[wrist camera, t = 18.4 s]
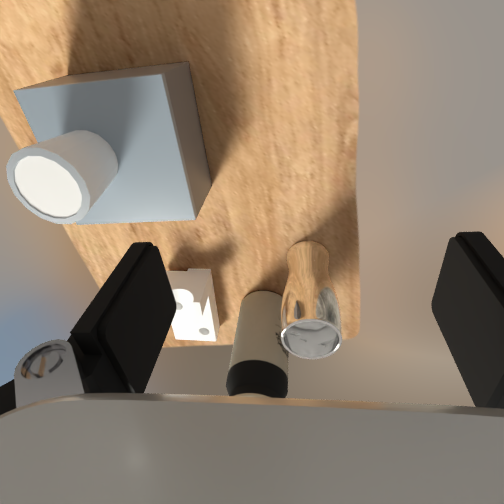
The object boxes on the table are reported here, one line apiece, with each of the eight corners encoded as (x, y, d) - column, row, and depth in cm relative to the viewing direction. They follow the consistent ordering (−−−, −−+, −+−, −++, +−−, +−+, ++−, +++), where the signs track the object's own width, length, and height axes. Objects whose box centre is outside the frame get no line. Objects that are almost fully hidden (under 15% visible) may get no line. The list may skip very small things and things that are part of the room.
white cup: (96, 202, 36) (58, 237, 30) (41, 149, 33) (-11, 177, 27) (138, 168, 33) (106, 200, 27) (83, 107, 30) (34, 129, 24)
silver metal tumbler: (326, 279, 50) (335, 364, 38) (280, 273, 50) (275, 355, 38) (337, 240, 46) (351, 323, 34) (286, 234, 46) (283, 313, 34)
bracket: (166, 266, 52) (150, 300, 46) (211, 267, 51) (199, 302, 45) (181, 323, 60) (168, 359, 54) (220, 325, 59) (211, 361, 53)
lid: (19, 88, 30) (13, 90, 30) (164, 72, 28) (161, 74, 28) (80, 221, 38) (77, 224, 38) (197, 216, 36) (195, 219, 36)
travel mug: (246, 325, 58) (230, 430, 43) (236, 291, 53) (214, 395, 39) (292, 322, 56) (291, 430, 42) (285, 287, 52) (281, 394, 37)
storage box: (67, 75, 37) (19, 89, 30) (188, 61, 35) (164, 72, 28) (111, 191, 45) (80, 221, 38) (212, 185, 43) (197, 216, 36)
